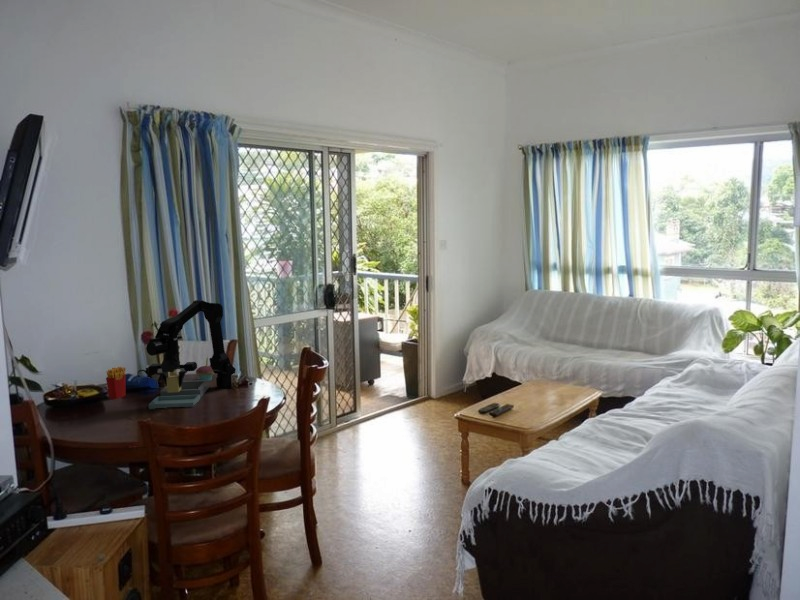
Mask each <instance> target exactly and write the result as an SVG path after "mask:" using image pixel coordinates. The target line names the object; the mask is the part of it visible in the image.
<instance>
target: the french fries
mask: <svg viewBox="0 0 800 600" xmlns="http://www.w3.org/2000/svg"><path fill="white" fill-rule="evenodd" d="M106 376H107V377H105V381H106V385H107V391H108V397H109V399H110V400H115V399H116V400H117V399H121V398H122V397H123V398H124V397H126V367H123V366H117V367H115V366H114V367H112V368H111V369H107V371H106Z"/></svg>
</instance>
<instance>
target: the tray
mask: <svg viewBox="0 0 800 600" xmlns="http://www.w3.org/2000/svg"><path fill="white" fill-rule="evenodd" d="M200 400H201V397H200V395H179V396H160V395H159V396H156V397H155V398H153V400H152V401H151V402H150V403H149V404H148V410H156V409H155V408H165V409H168V408H167V407H186V408H193V407H192V406H194V405H195V404H196V403H197V402H199V401H200ZM197 404H198V403H197ZM197 404H196V405H197ZM196 405H195V406H196ZM195 406H194V407H195Z"/></svg>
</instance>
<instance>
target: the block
mask: <svg viewBox="0 0 800 600" xmlns="http://www.w3.org/2000/svg"><path fill="white" fill-rule="evenodd" d="M180 390H182V389H181V387H179V375H168V378H167V393H171V392H179V391H180Z"/></svg>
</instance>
